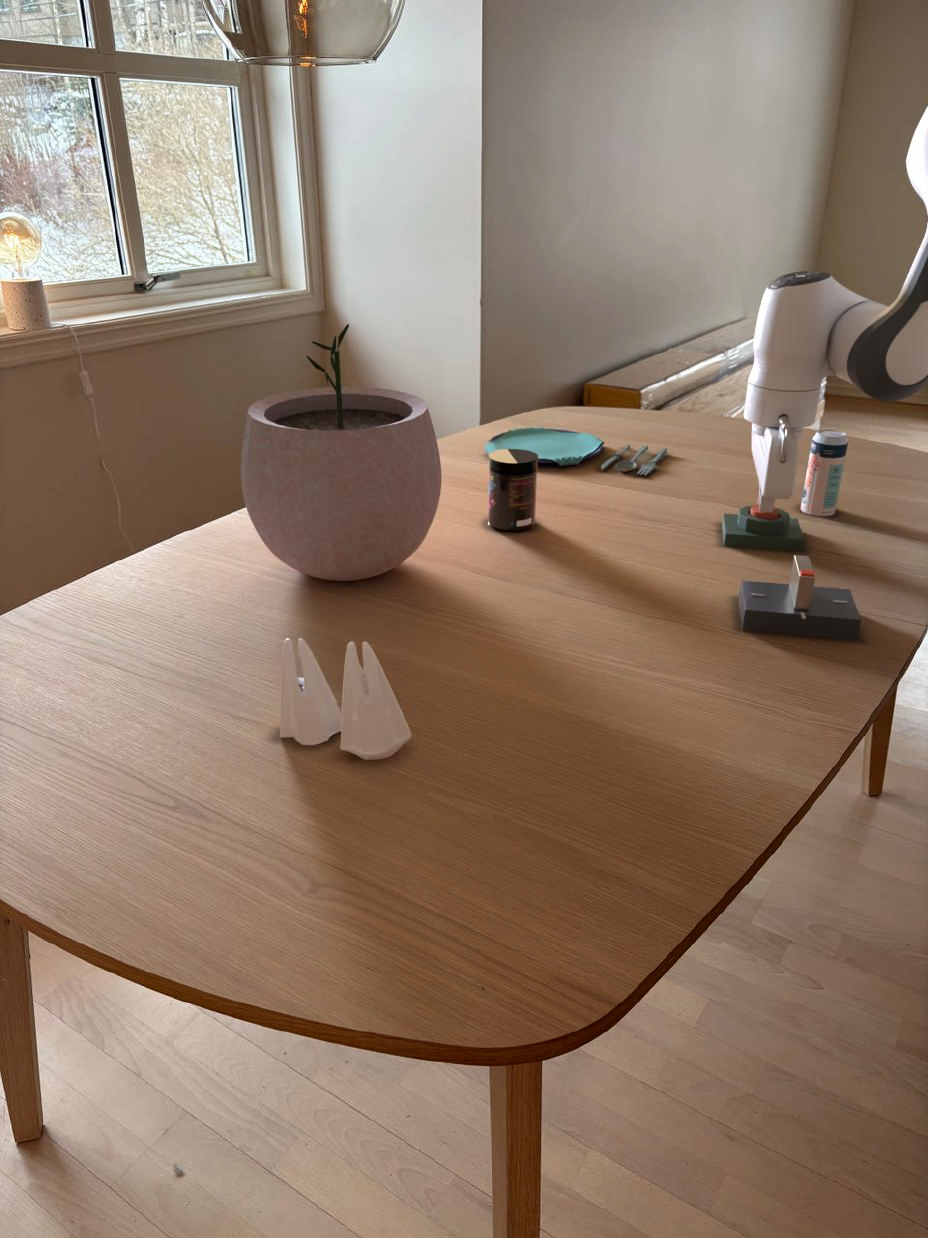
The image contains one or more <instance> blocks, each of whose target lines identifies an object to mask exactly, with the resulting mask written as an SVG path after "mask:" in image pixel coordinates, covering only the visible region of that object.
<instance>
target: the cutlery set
mask: <svg viewBox="0 0 928 1238" xmlns="http://www.w3.org/2000/svg"><path fill="white" fill-rule="evenodd" d="M604 445H605V441H604V440H602V439H601V438H599V437H598V436H597V435H593V434H592V433H589V432H577V431H572V430H567V429H558V428H557V429H556V428H545V427H539V426H537V427H536V426H535V427H533V426H531V427H525V428H523V427H521V428H515V429H508V431H505V432H502V433H499V434H497V435H494V436H492V437H491V438H490V439H489V440H488V441H487V443H486V444H485V446H484V447H485V448H484V449H485V450H484V451H485V452H486V455H487V456H489V454H490V453H491V452H494V451H497V450H502V449H522V450H528V451H531V452H534V453H536V454H537V455H538V464H558V465H559V466H560V467H564V466H570V465H571V466H574V465H578V464H579V463H581V461H583V460H588V459H591V458H593V457H594V456H596V455H598V454H600V453H601V451H602V449H604ZM627 450H631V445H630V444H626V446H625V447H623V449H621V450H619V451H616V452H615V453H612V456H611V457H610V458H608V459H607V460H605V462H603V463H602V464H601V465H600V469H601V470H602V471H604V470H605V469H607V468H608V467H609V466H610V465H611V464H613V463H614V462H615V461H620V458H621V457H622V454H624V453H625V451H627ZM648 450H649V445H643V446H642V447H640V449H639V450H637V452H636V453H635V455H634V456H633V457H632V458H631V460H624V461H620V462H618V463H616V464H615V467H614V468H615V469H616V470H617V471H618V472H622V473H628V472H631V471H634V470H635V469H637V463H636V462H635V461H636V460H637V459H638V458H639V457H640V456H641V455H642V454H644V453H645V452H646V451H648ZM667 450H668V448H666V447H662V449H661V450H660V451H659V452H658V453H657V455H655V457H654V458H653V459H651V460H648V462H643V464H642V465H641V467H640V469H639V470H638V472H637V473H636V475H637V476H638V475H640V476H645V477H646V476H647V475H648V474H650V473H652V472H653V471H654V470H655V469H656V463H658V462H659V461H660V460H661V459H662V458H663V456H665V455H666V454H667V452H668V451H667ZM623 468H630V469H625V470H623Z"/></svg>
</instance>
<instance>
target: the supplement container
mask: <svg viewBox="0 0 928 1238" xmlns="http://www.w3.org/2000/svg"><path fill="white" fill-rule="evenodd" d="M538 464H539V463H538V455H537V454H536V453H534V452H531V451H528V450H522V449H502V450H497V451H494V452H491V453H490V454H489V455H488V466H487V467H488V494H487V495H488V496H487V499H488V501H487V502H488V503H487V524H488V527H489V528H491V529H492V530H494V531H497V532H500V533H508V534H509V533H510V534H517V533H519V534H520V533H524V532H528V531H531V530H533V528H535V525H536V513H537V510H536V509H537V487H538V485H537V484H538V469H539V465H538Z"/></svg>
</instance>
